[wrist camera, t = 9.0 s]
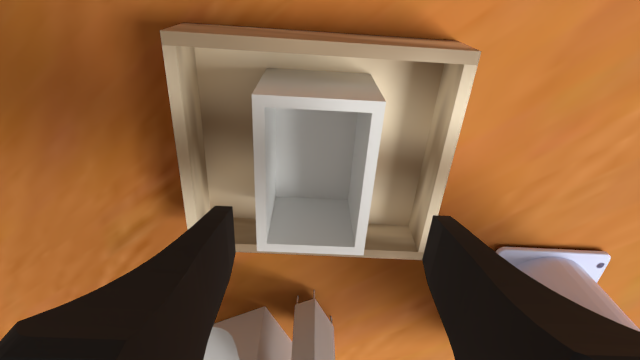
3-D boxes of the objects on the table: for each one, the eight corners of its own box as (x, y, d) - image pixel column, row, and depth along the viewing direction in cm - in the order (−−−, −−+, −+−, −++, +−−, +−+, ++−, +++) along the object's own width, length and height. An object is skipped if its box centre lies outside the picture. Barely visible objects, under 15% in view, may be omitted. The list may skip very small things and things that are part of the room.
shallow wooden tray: (413, 228, 25) (426, 260, 22) (205, 218, 24) (190, 249, 21) (456, 40, 19) (481, 51, 16) (183, 22, 18) (159, 30, 16)
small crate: (354, 202, 23) (363, 255, 19) (268, 198, 23) (256, 251, 18) (370, 73, 19) (386, 101, 15) (266, 67, 19) (251, 94, 14)
